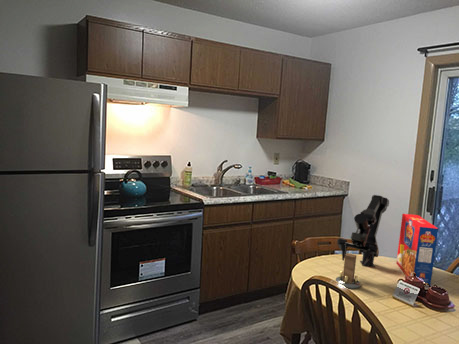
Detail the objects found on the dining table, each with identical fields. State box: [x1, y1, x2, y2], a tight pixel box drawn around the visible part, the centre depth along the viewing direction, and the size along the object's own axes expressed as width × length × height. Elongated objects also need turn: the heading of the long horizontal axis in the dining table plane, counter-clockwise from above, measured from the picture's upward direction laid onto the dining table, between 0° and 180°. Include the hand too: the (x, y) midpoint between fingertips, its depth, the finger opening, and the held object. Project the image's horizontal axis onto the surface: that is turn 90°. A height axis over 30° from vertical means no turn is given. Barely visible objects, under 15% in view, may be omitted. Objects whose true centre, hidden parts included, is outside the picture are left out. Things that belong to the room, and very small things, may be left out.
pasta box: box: [395, 213, 439, 286], centre depth 187 cm, size 28×8×28 cm, turn 170°
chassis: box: [335, 270, 361, 290], centre depth 171 cm, size 11×11×5 cm
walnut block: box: [342, 252, 357, 284], centre depth 170 cm, size 4×4×12 cm
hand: (352, 262), depth 174 cm, fingers open, 9 cm apart
